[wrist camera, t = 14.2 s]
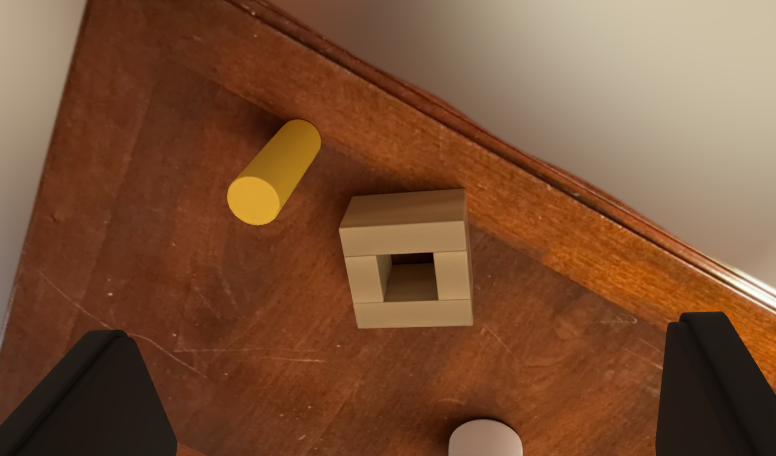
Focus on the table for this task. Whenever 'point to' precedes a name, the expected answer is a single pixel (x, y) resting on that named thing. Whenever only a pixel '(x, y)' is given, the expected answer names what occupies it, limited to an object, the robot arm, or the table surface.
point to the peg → (274, 173)
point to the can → (484, 439)
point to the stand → (409, 281)
